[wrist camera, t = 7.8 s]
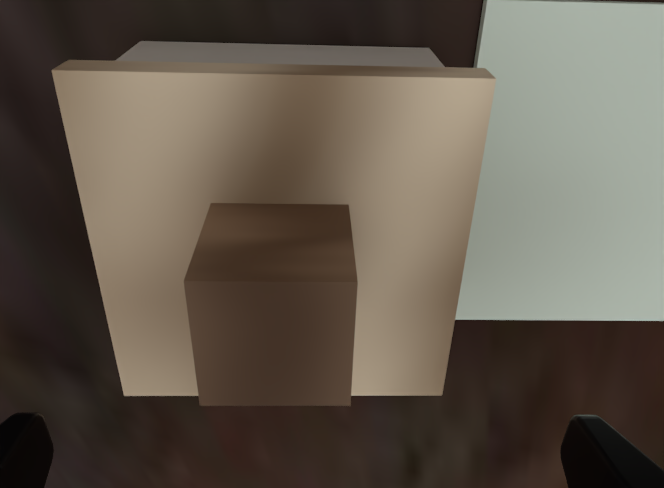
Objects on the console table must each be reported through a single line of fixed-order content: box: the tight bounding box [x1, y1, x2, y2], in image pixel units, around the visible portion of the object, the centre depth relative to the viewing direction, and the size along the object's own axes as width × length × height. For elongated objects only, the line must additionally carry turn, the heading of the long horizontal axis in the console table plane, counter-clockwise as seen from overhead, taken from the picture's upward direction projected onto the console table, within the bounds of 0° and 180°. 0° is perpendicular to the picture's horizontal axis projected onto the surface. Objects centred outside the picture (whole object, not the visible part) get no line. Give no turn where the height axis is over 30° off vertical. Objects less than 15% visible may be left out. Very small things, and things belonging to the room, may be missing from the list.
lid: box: [52, 60, 496, 406], centre depth 14 cm, size 10×10×4 cm
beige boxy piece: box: [115, 41, 444, 67], centre depth 18 cm, size 9×9×4 cm
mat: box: [455, 0, 664, 321], centre depth 20 cm, size 12×12×1 cm
